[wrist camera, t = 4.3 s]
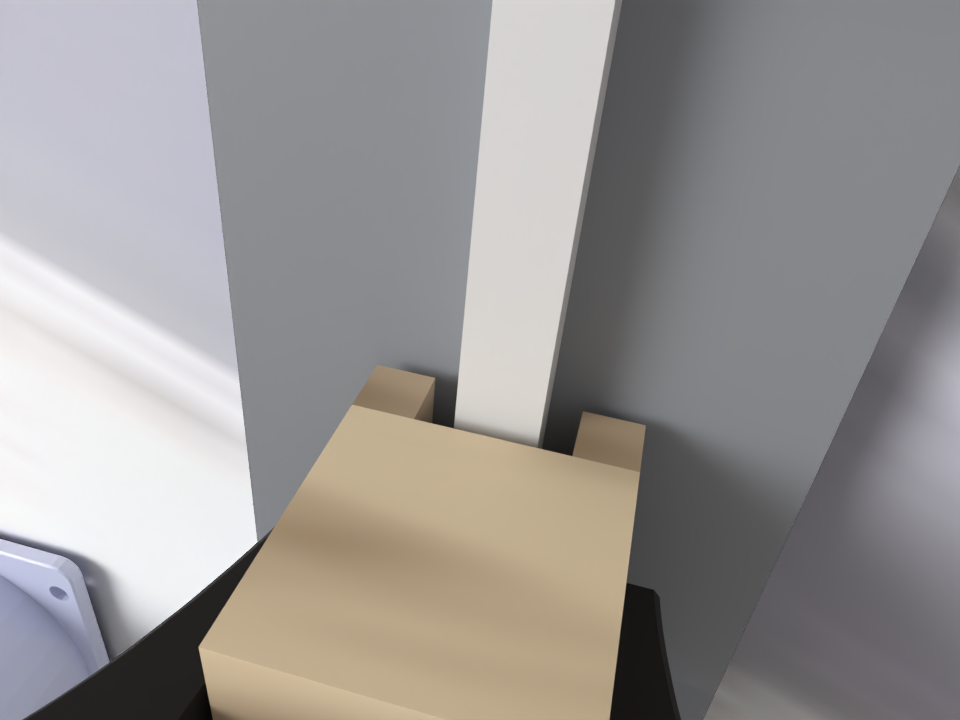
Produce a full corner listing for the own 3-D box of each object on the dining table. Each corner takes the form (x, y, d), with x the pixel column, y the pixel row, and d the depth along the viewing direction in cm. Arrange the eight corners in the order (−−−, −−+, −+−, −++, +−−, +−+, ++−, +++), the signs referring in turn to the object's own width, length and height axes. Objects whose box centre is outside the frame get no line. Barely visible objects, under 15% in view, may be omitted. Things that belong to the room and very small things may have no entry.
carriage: (586, 639, 14) (532, 967, 10) (374, 582, 15) (242, 869, 11) (645, 424, 11) (604, 765, 7) (376, 364, 12) (198, 646, 8)
